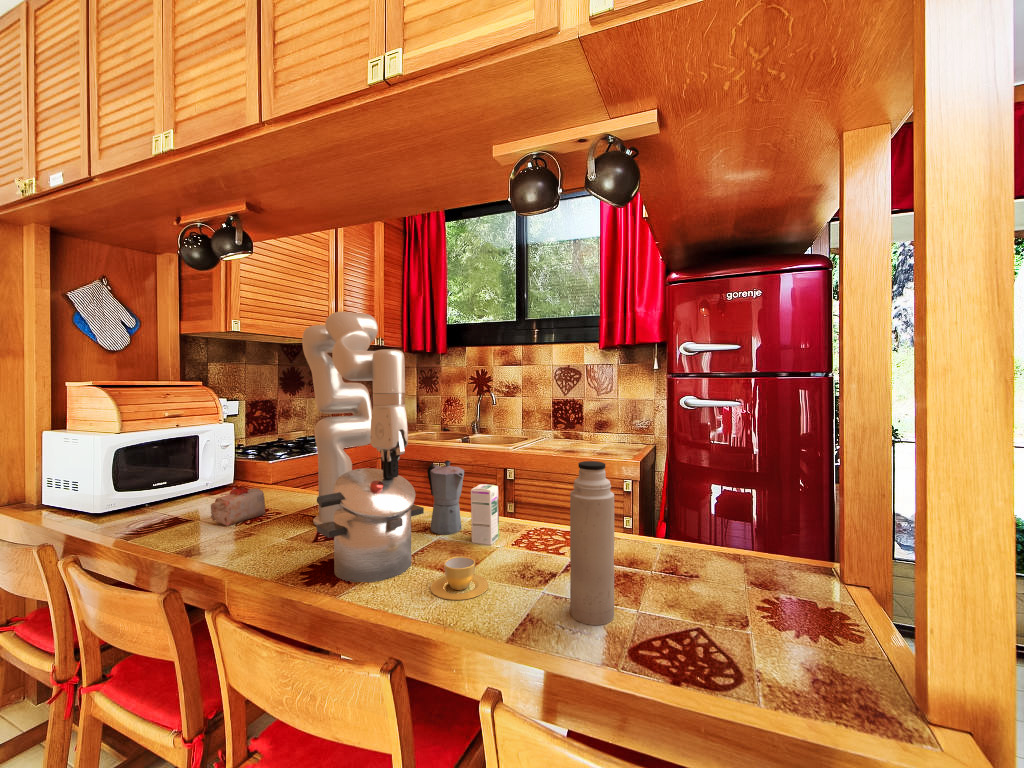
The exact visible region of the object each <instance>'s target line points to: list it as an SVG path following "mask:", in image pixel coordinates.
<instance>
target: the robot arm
mask: <svg viewBox="0 0 1024 768" xmlns="http://www.w3.org/2000/svg"><path fill="white" fill-rule="evenodd" d="M328 315H329V316H327V317H326V318H325V319H326V320H325V324H315V325H310V326H308V327H307V328H305V329H304V331H303V333H302V337H301V338H302V340H301V341H302V350H303V351H302V352H303V354H304V357H305V359H306V362H307V364H308V366H309V368H310V371H311V376H312V383H313V390H314V391H313V392H314V398H315V403H316V404H315V405H316V408H317V410H318V411H319V412H320V413H322V414H331V415H332V414H350V413H351V414H352V415H340V416H327V417H324V418H322V419H319V420H318V422H316V424H315V426H314V438H315V445H316V450H317V466H318V470H317V471H318V472H317V473H318V477H317V478H318V496H323V495H328V494H333V491H334V486H335V482H336V481H337V479H338V478H339V477H340V476H341V475H343V474H344V473H346V472H349V471H352V470H353V463H352V459H351V457H350V456H349V454H347V453H346V451H345V450H344V448H352V447H362V446H366V445H370V446H372V448H376V451H377V452H379V453H380V455H381V456H380V458H381V461H382V470H383V477H384V478H394V477H398V475H399V461H400V458H401V457H400V456H401V455H404V454H405V452H406V450H405V448H407V446H408V444H409V429H408V428H409V427H408V419H407V417H408V416H407V411H406V374H405V373H406V370H405V368H406V367H405V365H406V363H405V362H406V361H405V354H404V352H403V351H402V350H399V349H387V348H386V349H378V350H368V349H369V348H370V346H371V344H372V343H373V342H374V341H375V339H376V338H377V336H378V333H379V326H378V323H377V322H378V321H377V320H376V319H375V317H373V315H371V314H369V313H363V312H350V311H336V312H333V313H331V314H328ZM329 354H331V355H332V356H331V355H329ZM343 379H344V380H347V381H351V382H345V381H344V380H343ZM361 381H362V382H364V381H365V382H366V381H368V382H369V381H372V401H371V395H370V392H369V390H368V388H367V387H366V385H365V384H362V383H361ZM372 404H373V405H372ZM340 508H341V507H340V506H339V505H338V504H337V505H332V506H328V507H323V508H321V507H320V506H319V505H318V507H317V509H318V515H316V516H315V517H314V518H313V521H312V522H313V525H315V526H316V527H317V525H319V524H323V523H327V522H332V521H334V513H335V511H336V510H338V509H340Z"/></svg>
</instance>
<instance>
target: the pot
mask: <svg viewBox="0 0 1024 768" xmlns="http://www.w3.org/2000/svg"><path fill="white" fill-rule="evenodd" d="M424 511H425V510H424V507H422V506H419V505H417V504H415V503H414V504H413V506H412V508H411V509H410V510H409V511H408V512H407V513H405V514H404V515H402V516H400V517H397V518H393V519H386V520H372V519H366V518H361V517H358V516H355V515H353V514H350V513H348V512H347V511H345V510H344V509H342V508H340V509H338V510H336V511H335V513H334V521H332V522H327V523H323V524H319V525H317V526H316V532H317V533H319V534H321V535H322V536H324V537H326V538H327V539H330V538H333V555H334V557H333V559H334V560H333V561H334V563H333V565H334V567H333V568H334V576H336V577H337V578H338V579H339V578H340V580H341V579H342V581H344V580H345V581H344V582H348V581H351V582H350V583H356V582H368V583H376V581H377V582H382V581H386V580H385V579H387V580H390V579H393V578H395V576H396V577H398V576H400V575H402V574H404V573H406V572H407V571H408V570H409V569H410V568H411V566H412V517H416V516H419V515H423V514H424ZM409 567H410V568H409ZM408 568H409V569H408ZM407 569H408V570H407ZM406 570H407V571H406ZM403 572H404V573H403ZM401 573H402V574H401ZM397 575H398V576H397ZM392 577H393V578H392ZM389 578H390V579H389ZM381 580H382V581H381Z"/></svg>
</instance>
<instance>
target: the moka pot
mask: <svg viewBox="0 0 1024 768" xmlns="http://www.w3.org/2000/svg"><path fill="white" fill-rule="evenodd" d="M426 471H427V479H428V483H429V487H430V488H429V489H430V495H431V496H432V497H433V507H432V514H431V520H430V528H429V529H430V531H431V532H432V533H435V534H437V535H451V534H452V535H453V534H456V533H459V532H460V531H461V530H462V520H461V518H462V517H461V512H460V510H461V509H460V503H459V502H460V497H461V495H462V492H463V491H462V490H463V484H464V483H463V482H464V481H463V480H464V476H465V469H463V468H462V467H459V466H455V465H454V466H452V465H451V460H444V465H442V466H440V465H438V464H434V463H430V465H429V467H428V468H427V470H426Z"/></svg>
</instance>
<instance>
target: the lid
mask: <svg viewBox="0 0 1024 768" xmlns="http://www.w3.org/2000/svg"><path fill="white" fill-rule="evenodd" d="M415 498H416V491H415V488H414V486H413V485H412V483H411V482H409V480H408V479H406V478H405V477H403V476H401V474H400V475H399V474H398V477H394V478H384V477H383V468H382V469H380V468H369V467H367V468H365V467H364V468H363V467H362V468H357V469H352V471H349V472H346V473H344V474H343V475H341V476H340V477H339V478H338V479H337V481H336V482H335V486H334V491H333V494H328V495H323V496H319V495H318V496H317V497H316V503H317V504H318V506H320V507H321V508H323V507H328V506H332V505H337V504H338V505H339V506H340V507H341V508H342V509H344V510H345V511H347V512H348V513H350V514H353V515H355V516H358V517H361V518H366V519H372V520H386V519H393V518H397V517H400V516H402V515H404V514H405V513H407V512H408V511H409V510H410V509H411V508H412V506H413V504H414V505H415V500H416V499H415Z"/></svg>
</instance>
